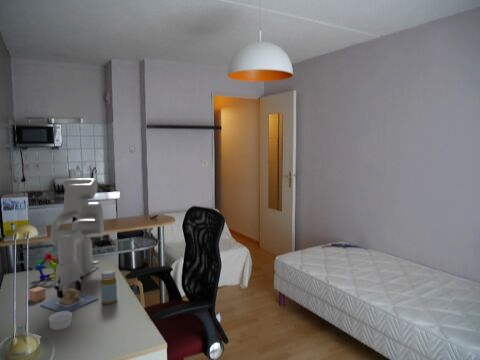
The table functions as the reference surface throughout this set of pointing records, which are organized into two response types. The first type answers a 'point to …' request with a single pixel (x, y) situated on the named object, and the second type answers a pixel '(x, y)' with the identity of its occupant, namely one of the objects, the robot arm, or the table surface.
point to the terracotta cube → (37, 294)
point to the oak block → (70, 296)
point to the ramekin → (60, 320)
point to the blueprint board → (59, 306)
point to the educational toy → (53, 266)
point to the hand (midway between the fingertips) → (69, 293)
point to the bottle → (108, 287)
